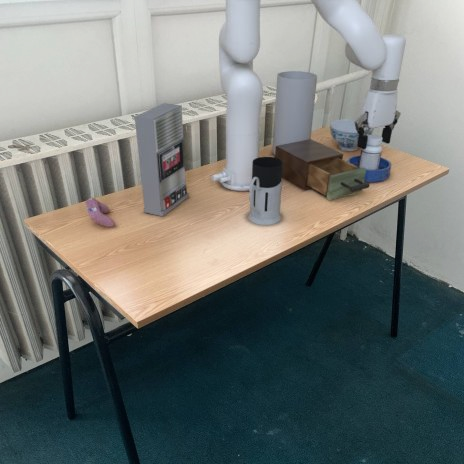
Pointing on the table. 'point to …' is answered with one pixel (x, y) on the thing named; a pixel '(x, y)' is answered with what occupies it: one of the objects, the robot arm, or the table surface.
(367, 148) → the pill bottle
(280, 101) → the cylinder vase
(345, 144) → the chinaware
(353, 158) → the bowl
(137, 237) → the table surface
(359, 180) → the drawer
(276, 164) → the glass holder
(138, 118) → the cassette tape recorder
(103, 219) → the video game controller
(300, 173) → the cabinet
